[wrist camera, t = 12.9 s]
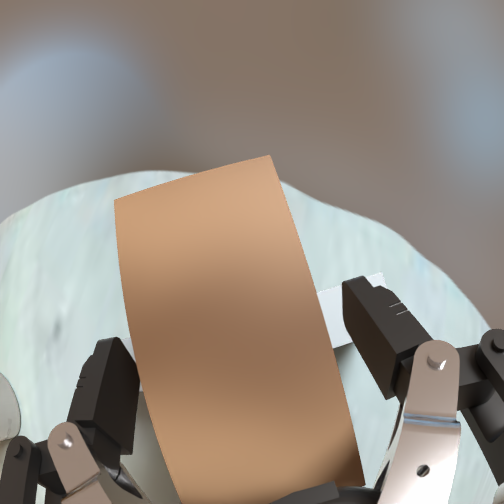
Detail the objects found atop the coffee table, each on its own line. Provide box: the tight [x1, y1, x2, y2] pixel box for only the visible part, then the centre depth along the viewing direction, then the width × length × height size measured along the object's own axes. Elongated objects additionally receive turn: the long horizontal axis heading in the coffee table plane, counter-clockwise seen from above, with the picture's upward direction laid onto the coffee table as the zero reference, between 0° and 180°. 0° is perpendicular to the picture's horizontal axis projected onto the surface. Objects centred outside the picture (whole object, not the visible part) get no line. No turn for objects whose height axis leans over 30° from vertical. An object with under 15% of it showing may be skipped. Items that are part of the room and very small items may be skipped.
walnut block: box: [114, 155, 366, 504], centre depth 16 cm, size 10×5×18 cm, turn 15°
